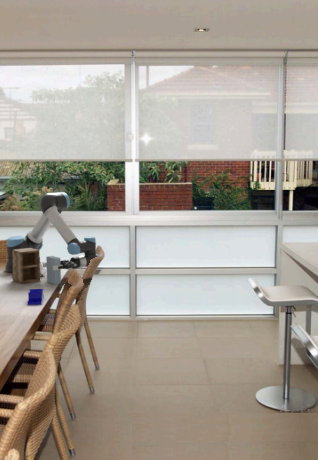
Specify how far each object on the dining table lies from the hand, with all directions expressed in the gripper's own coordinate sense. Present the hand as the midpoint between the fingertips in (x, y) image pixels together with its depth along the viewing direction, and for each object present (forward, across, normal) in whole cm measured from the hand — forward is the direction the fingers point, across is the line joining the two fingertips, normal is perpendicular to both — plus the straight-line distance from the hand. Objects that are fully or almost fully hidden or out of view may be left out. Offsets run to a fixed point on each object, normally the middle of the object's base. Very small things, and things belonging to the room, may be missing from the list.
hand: (48, 266), depth 371 cm
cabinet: (+7, +15, -10) cm, 20 cm away
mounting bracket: (+28, -34, -11) cm, 45 cm away
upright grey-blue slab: (-4, 0, -10) cm, 11 cm away
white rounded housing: (-9, +28, -11) cm, 31 cm away
